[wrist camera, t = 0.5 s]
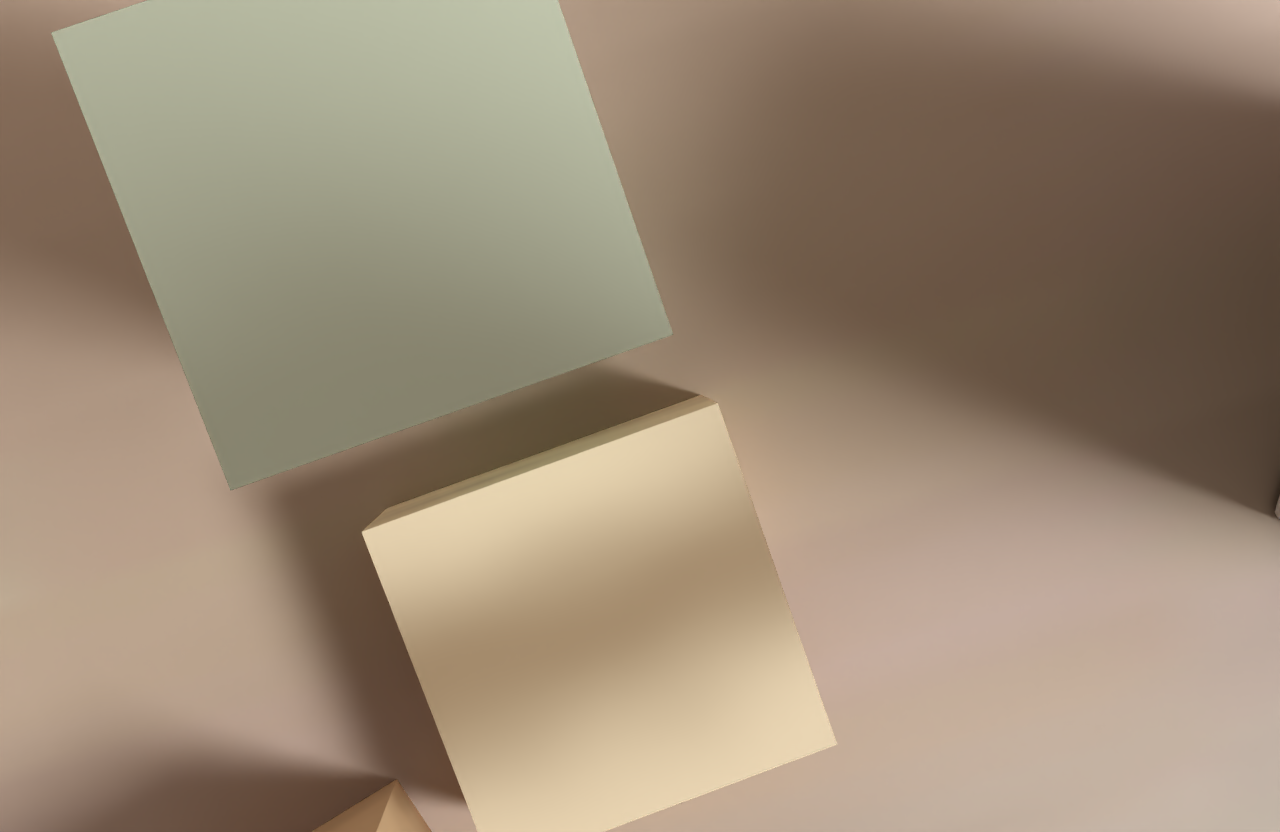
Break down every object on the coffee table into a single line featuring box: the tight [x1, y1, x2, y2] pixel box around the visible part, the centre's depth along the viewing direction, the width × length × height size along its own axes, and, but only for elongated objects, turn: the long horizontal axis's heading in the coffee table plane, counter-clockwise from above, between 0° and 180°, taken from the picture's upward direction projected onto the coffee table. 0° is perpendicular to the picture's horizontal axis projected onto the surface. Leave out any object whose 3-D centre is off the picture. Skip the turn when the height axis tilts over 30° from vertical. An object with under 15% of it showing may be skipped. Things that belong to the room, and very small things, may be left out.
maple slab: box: [362, 395, 837, 832], centre depth 22 cm, size 7×7×3 cm
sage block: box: [51, 0, 673, 490], centre depth 16 cm, size 4×4×12 cm
